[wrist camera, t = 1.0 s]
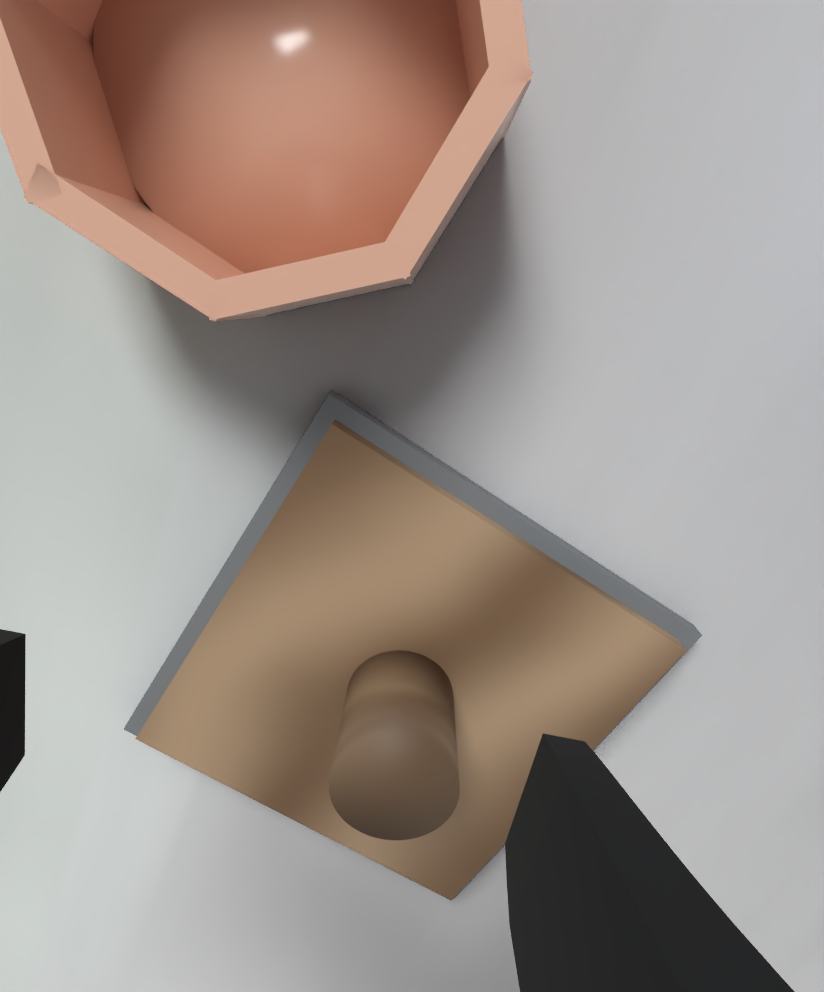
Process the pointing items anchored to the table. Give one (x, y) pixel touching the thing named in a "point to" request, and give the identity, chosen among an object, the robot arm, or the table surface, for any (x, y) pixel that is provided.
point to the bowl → (259, 134)
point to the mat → (438, 474)
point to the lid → (399, 667)
